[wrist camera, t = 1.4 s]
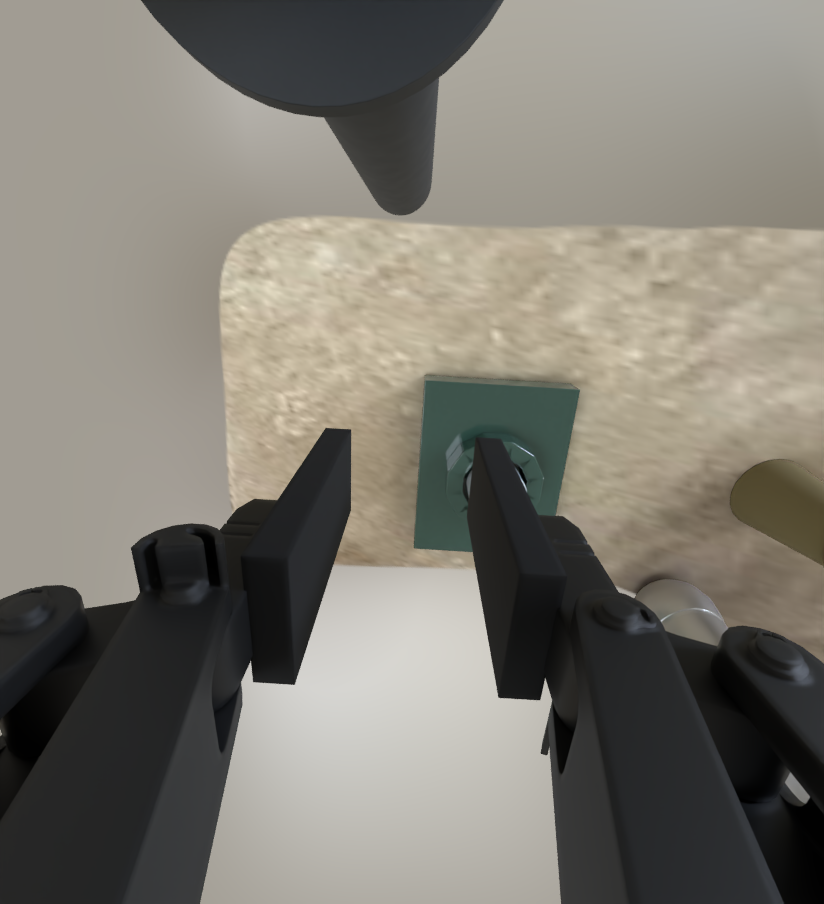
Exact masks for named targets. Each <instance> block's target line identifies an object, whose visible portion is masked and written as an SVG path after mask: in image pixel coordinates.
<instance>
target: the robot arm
mask: <svg viewBox="0 0 824 904" xmlns="http://www.w3.org/2000/svg"><path fill="white" fill-rule="evenodd" d="M350 511H351V430H349V429H332V428H326V429H325V430H324V432H323V433H322V435H321V436H320V438H319V439H318V441H317V442H316V444H315V445H314V447H313V448H312V450H311V451H310V453H309V454H308V456H307V457H306V459H305V460H304V462H303V463H302V465H301V466H300V467H299V469H298V470H297V472H296V473H295V475H294V476H293V478H292V479H291V481H290V482H289V484H288V485H287V487H286V488H285V490H284V491H283V493H282V494H281V496H280V497H279V499H278V500H262V499H253V500H252V501H250V502H248V503H246V504H245V505H243V506H241V507H240V508H238V509H237V510H236V511H235V512H234V513H233V514H232V516H231V517H230V518H229V519H228V521H227V524H224V525H223V527H222V528H221V529H220V530H218V529H217V528H214V527H212V526H209V525H204V524H183V525H175V526H171V527H168V528H164V529H161V530H157V531H155V532H153V533H151V534H149V535H147V536H145V537H143V538H141V539H140V540H139V541H138V542H137V543H136V544H135V545H133V546H132V547H131V550H132V555H133V560H134V565H135V570H136V574H137V579H138V583H139V588H140V593H139V595H138V597H137V598H136V600H134V601H130V602H126V603H119V604H113V605H106V606H99V607H92V608H86V609H85V608H84V605H83V601H82V597H81V595H80V594H79V593H78V592H77V590H76V589H74V588H70V587H67V586H63V585H57V586H56V585H55V586H42V587H35V588H33V589H32V588H30V589H27V590H23V591H20V592H19V593H16V594H13V595H11V596H8V597H6V598H3V599H1V600H0V730H1V732H2V735H1V736H0V904H200V900H201V895H202V891H203V886H204V881H205V877H206V872H207V867H208V863H209V858H210V853H211V849H212V843H213V839H214V835H215V830H216V825H217V821H218V816H219V811H220V807H221V802H222V797H223V793H224V787H225V783H226V778H227V774H228V769H229V764H230V760H231V755H232V750H233V746H234V741H235V736H236V732H237V727H238V722H239V718H240V713H241V708H242V687H241V681H242V678H243V676H244V674H245V672H246V670H247V668H248V665H249V663H250V661H251V665H252V675H253V682H260V683H276V684H291V685H292V684H293V685H294V684H295V682H296V679H297V675H298V672H299V669H300V666H301V663H302V660H303V657H304V654H305V651H306V648H307V645H308V641H309V638H310V635H311V632H312V629H313V626H314V623H315V620H316V617H317V613H318V610H319V607H320V604H321V601H322V598H323V595H324V592H325V589H326V585H327V582H328V579H329V576H330V573H331V570H332V567H333V564H334V561H335V558H336V554H337V551H338V548H339V545H340V542H341V539H342V536H343V533H344V530H345V526H346V523H347V520H348V517H349V514H350ZM467 522H468V528H469V533H470V539H471V545H472V550H473V556H474V562H475V567H476V573H477V579H478V584H479V590H480V595H481V601H482V607H483V612H484V618H485V624H486V629H487V635H488V641H489V646H490V652H491V658H492V663H493V668H494V674H495V680H496V686H497V692H498V697H499V698H512V699H527V700H540V699H541V694H542V689H543V685H544V681H545V678H546V681H547V684H548V688H549V691H550V694H551V698H552V705H551V708H550V713H549V717H548V721H547V726H546V730H545V734H544V738H543V743H542V749H541V754H544V755H547V754H548V750H549V746H550V759H551V772H552V786H553V798H554V813H555V826H556V840H557V853H558V867H559V880H560V894H561V904H824V664H823V663H822V662H821V661H820V660H819V659H817V658H816V657H815V656H813V655H812V654H811V653H809V652H808V651H807V650H805V649H804V648H803V647H801V646H800V645H798V644H796V643H794V642H792V641H790V640H788V639H786V638H785V637H783V636H781V635H779V634H776V633H774V632H773V633H772V632H770V631H767V630H764V629H761V628H755V627H748V626H736V627H730V628H728V629H727V630H726V631H725V632H724V633H723V634H722V636H721V638H720V641H719V643H718V646H715V645H711V644H708V643H704V642H700V641H697V640H693V639H690V638H686V637H683V636H679V635H676V634H673V633H670V632H667V631H665V628H664V626H663V624H662V623H661V621H660V620H659V618H658V617H657V615H656V614H655V613H654V612H653V611H652V610H651V609H649V608H648V607H647V606H646V605H644V604H643V603H642V602H640V601H638V600H636V599H634V598H632V597H630V596H628V595H626V594H622V593H619V592H618V590H617V589H616V587H615V586H614V584H613V582H612V581H611V579H610V578H609V576H608V574H607V573H606V571H605V569H604V568H603V566H602V565H601V563H600V561H599V560H598V558H597V557H596V556H594V552H593V550H592V549H591V547H590V545H588V544H587V541H586V539H585V537H584V536H583V534H582V532H581V531H580V529H579V528H578V527H576V526H575V525H574V524H572V523H571V522H570V521H569V520H567V519H566V518H565V517H563V516H548V515H538V514H537V512H536V510H535V508H534V506H533V504H532V502H531V500H530V498H529V495H528V493H527V491H526V489H525V487H524V485H523V483H522V481H521V479H520V477H519V475H518V473H517V471H516V468H515V466H514V464H513V462H512V460H511V458H510V456H509V454H508V452H507V450H506V448H505V446H504V444H503V442H502V439H497V438H481V437H476V440H475V448H474V457H473V466H472V475H471V484H470V492H469V501H468V510H467ZM790 772H791V773H792V775H793V776H794V777H795V779H796V780H797V781H798V782H799V784H800V785H801V786H802V787H803V789H804V790H805V791H806V792H807V794H808V795H809V796H810V798H809V800H808V801H807V803H806V804H805V803H803V802H802V801H800V800H799V799H798V798H797V797H796V796H795V795H794V794H793V792H792V791H791V790H790V789H789V787H788V786H787V785H786V783H785V781H786V780H787V778H788V776H789V774H790Z"/></svg>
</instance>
